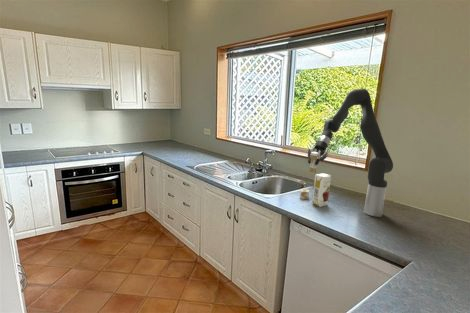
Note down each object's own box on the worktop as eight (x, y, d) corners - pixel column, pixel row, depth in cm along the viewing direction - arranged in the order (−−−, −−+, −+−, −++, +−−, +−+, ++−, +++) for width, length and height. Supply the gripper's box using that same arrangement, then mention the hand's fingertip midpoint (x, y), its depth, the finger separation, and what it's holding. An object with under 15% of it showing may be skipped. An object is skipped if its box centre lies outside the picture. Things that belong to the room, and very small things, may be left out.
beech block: (307, 197, 174) (308, 189, 173) (308, 199, 169) (309, 192, 168) (300, 196, 175) (300, 188, 174) (300, 198, 170) (300, 191, 169)
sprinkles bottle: (308, 171, 177) (310, 151, 174) (314, 171, 177) (316, 151, 174) (310, 173, 172) (312, 153, 169) (317, 173, 173) (319, 153, 170)
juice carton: (310, 203, 162) (313, 174, 158) (319, 201, 167) (322, 172, 163) (320, 208, 156) (323, 177, 152) (329, 205, 161) (333, 175, 157)
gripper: (311, 138, 180) (300, 158, 174) (331, 141, 171) (321, 162, 165) (314, 145, 185) (304, 165, 179) (334, 148, 176) (324, 169, 170)
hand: (312, 163), depth 172 cm, fingers closed on sprinkles bottle, 4 cm apart
